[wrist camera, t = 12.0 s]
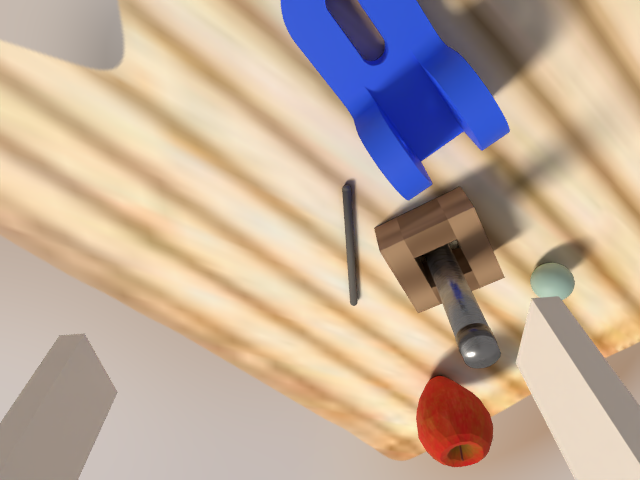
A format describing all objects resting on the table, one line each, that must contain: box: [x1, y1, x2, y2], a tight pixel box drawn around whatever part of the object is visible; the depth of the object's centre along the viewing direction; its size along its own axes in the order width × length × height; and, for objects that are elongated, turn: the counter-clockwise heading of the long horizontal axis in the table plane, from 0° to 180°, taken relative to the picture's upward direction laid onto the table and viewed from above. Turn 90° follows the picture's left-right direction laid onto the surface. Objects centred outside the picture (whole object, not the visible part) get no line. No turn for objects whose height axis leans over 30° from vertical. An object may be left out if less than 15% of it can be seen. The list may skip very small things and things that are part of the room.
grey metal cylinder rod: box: [424, 243, 501, 368], centre depth 37 cm, size 3×3×15 cm
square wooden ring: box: [374, 187, 505, 313], centre depth 41 cm, size 9×9×4 cm
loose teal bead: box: [530, 263, 575, 300], centre depth 44 cm, size 4×4×4 cm
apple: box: [416, 376, 493, 467], centre depth 50 cm, size 9×8×11 cm
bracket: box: [281, 0, 510, 200], centre depth 30 cm, size 18×8×9 cm, turn 40°
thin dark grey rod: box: [342, 185, 357, 306], centre depth 43 cm, size 15×1×1 cm, turn 5°
